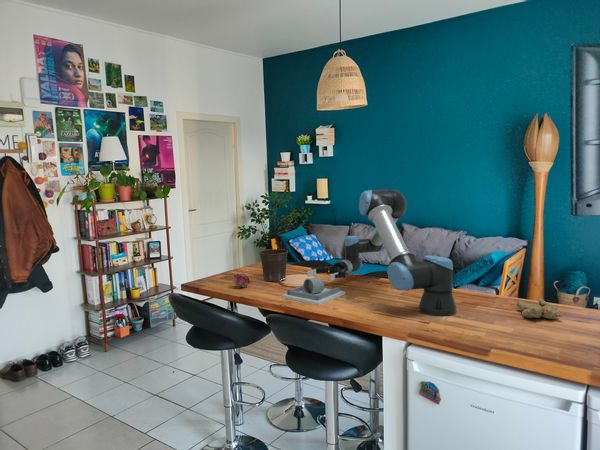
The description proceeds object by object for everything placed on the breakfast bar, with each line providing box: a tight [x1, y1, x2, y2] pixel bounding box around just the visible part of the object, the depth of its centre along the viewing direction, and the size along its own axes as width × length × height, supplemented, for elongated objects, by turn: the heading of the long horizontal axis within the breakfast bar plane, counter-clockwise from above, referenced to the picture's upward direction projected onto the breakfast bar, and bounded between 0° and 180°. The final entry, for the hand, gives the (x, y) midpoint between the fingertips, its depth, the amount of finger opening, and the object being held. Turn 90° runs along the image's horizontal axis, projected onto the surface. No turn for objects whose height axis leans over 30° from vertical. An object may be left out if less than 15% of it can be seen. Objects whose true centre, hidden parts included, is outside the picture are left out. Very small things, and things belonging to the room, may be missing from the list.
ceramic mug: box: [303, 277, 325, 294], centre depth 219 cm, size 11×8×8 cm
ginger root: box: [516, 297, 564, 320], centre depth 180 cm, size 16×16×8 cm
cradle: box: [281, 285, 346, 306], centre depth 217 cm, size 22×22×3 cm
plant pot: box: [258, 248, 289, 283], centre depth 250 cm, size 16×16×16 cm
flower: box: [232, 273, 251, 290], centre depth 235 cm, size 10×9×8 cm
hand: (318, 275), depth 220 cm, fingers open, 13 cm apart
